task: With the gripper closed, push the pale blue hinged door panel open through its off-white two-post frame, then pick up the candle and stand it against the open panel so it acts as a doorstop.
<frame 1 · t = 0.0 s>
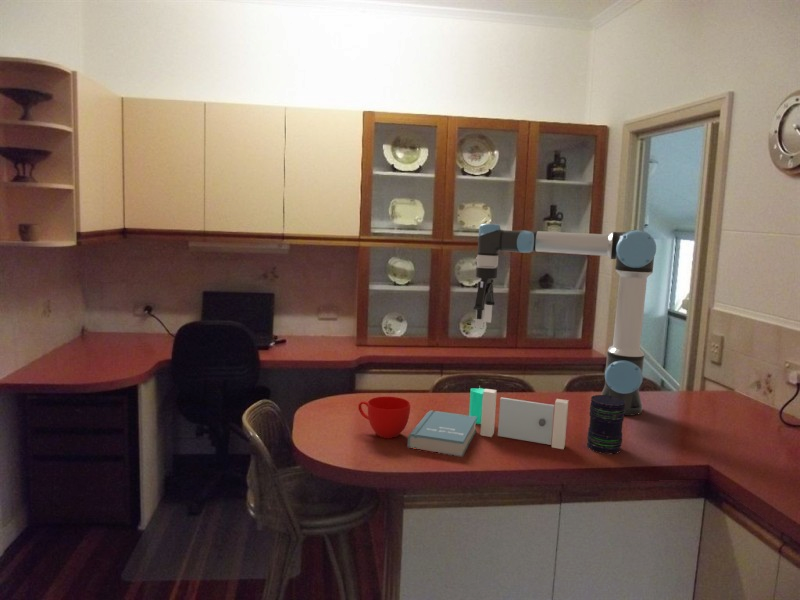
hand: (483, 325, 219), 28 cm above the breakfast bar, tool pointing down, fingers open, 13 cm apart
door: (525, 421, 181), point 6 cm above the breakfast bar, hinge at 0.0°
door frame: (523, 440, 183), on the breakfast bar
storage jar: (603, 448, 180), on the breakfast bar
candle: (477, 421, 199), on the breakfast bar
ceramic cup: (382, 433, 184), on the breakfast bar
book: (443, 441, 182), on the breakfast bar
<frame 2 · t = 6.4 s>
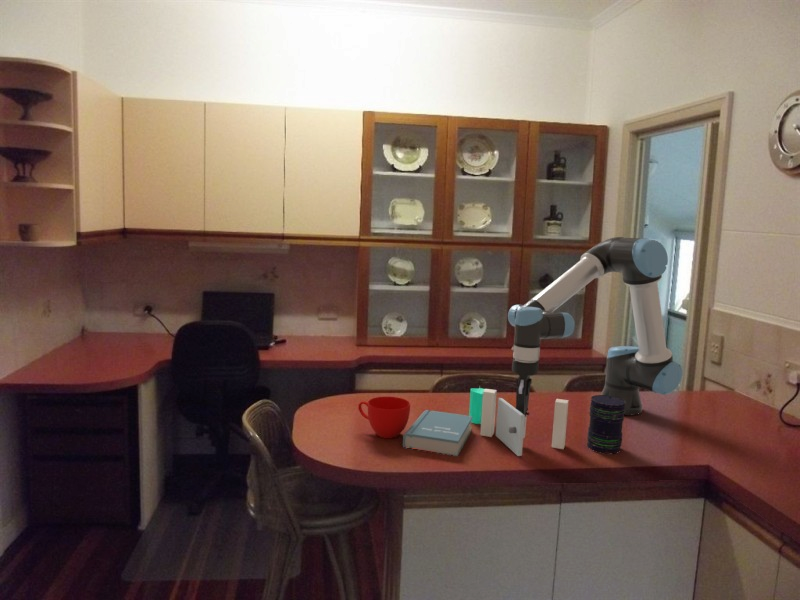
hand: (520, 436, 179), 2 cm above the breakfast bar, tool pointing down, fingers closed
door: (506, 426, 177), point 6 cm above the breakfast bar, hinge at 55.3°, touching hand
book: (438, 440, 182), on the breakfast bar
everything else where it was.
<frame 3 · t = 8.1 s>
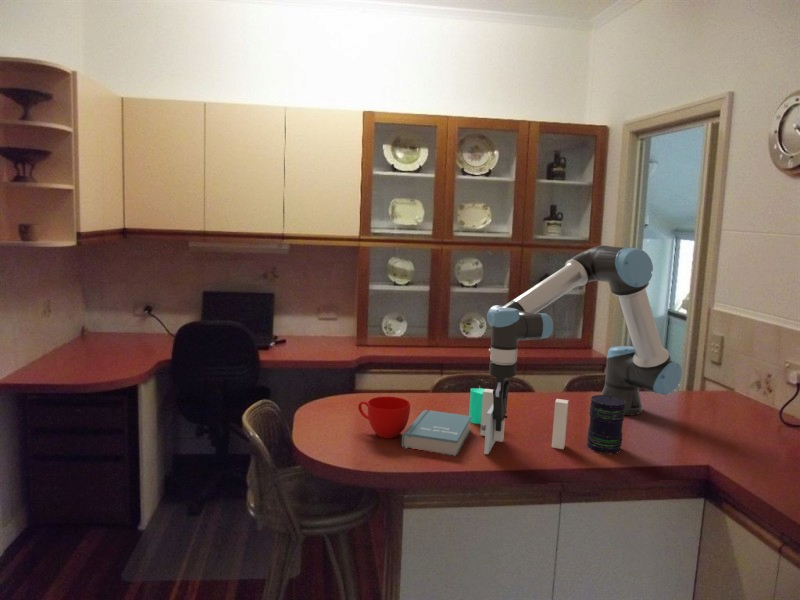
hand: (498, 440, 176), 2 cm above the breakfast bar, tool pointing down, fingers closed
door: (490, 424, 177), point 6 cm above the breakfast bar, hinge at 89.0°, touching gripper
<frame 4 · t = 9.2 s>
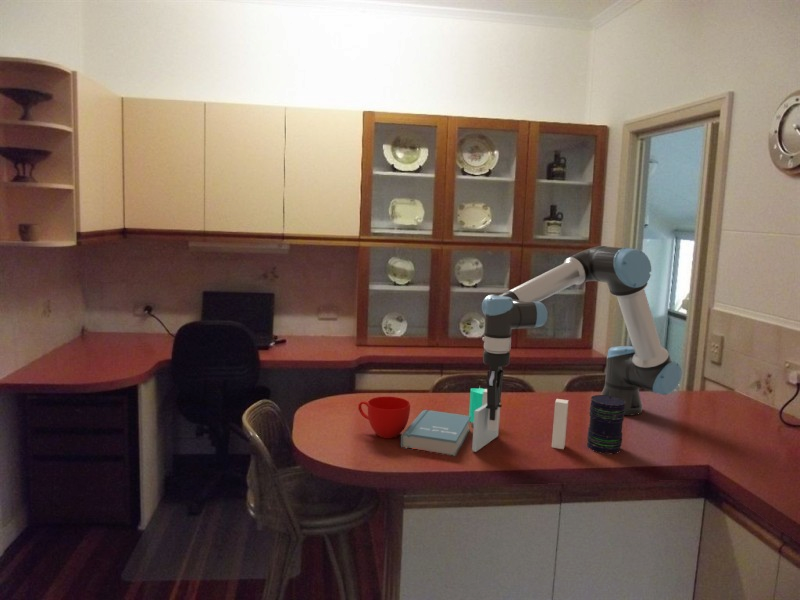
hand: (492, 429, 175), 6 cm above the breakfast bar, tool pointing down, fingers closed
door: (484, 423, 178), point 6 cm above the breakfast bar, hinge at 101.8°
everything else where it was.
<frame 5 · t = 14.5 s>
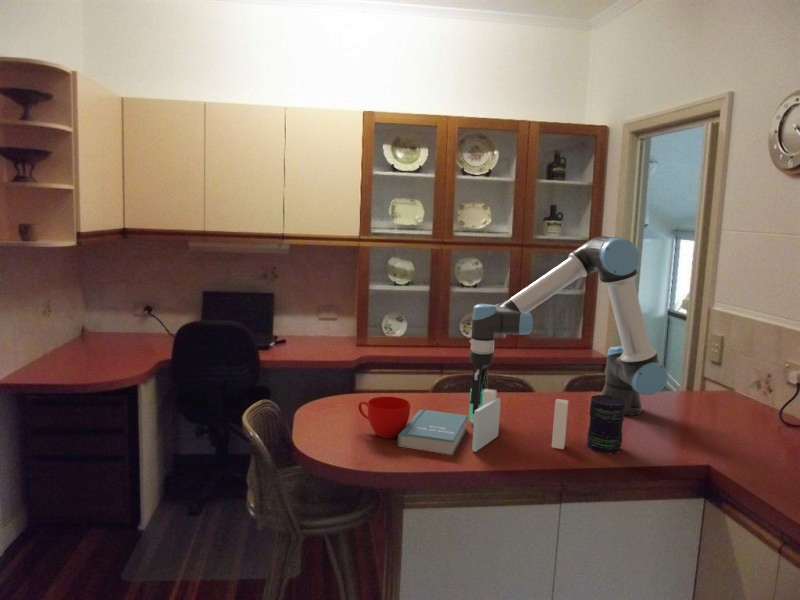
hand: (477, 419, 199), 0 cm above the breakfast bar, tool pointing down, fingers closed on candle, 6 cm apart
candle: (477, 421, 199), on the breakfast bar, touching gripper
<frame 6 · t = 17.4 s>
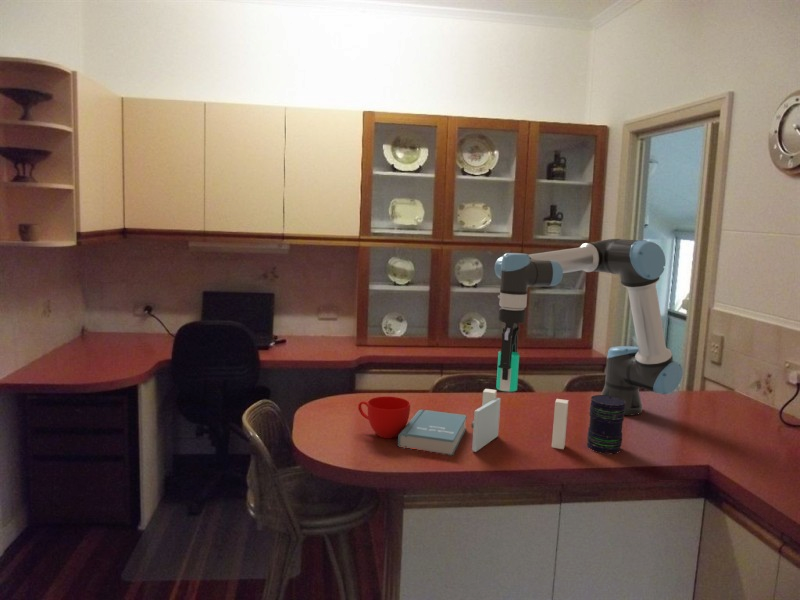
hand: (506, 387, 173), 19 cm above the breakfast bar, tool pointing down, fingers closed on candle, 6 cm apart
candle: (506, 389, 173), point 18 cm above the breakfast bar, touching gripper
ceramic cup: (381, 433, 184), on the breakfast bar, touching book
book: (433, 439, 182), on the breakfast bar, touching ceramic cup
everything else where it was.
when the fingers open (2 cm above the breakfast bar, at t = 20.8 s): candle drops 1 cm, on the breakfast bar.
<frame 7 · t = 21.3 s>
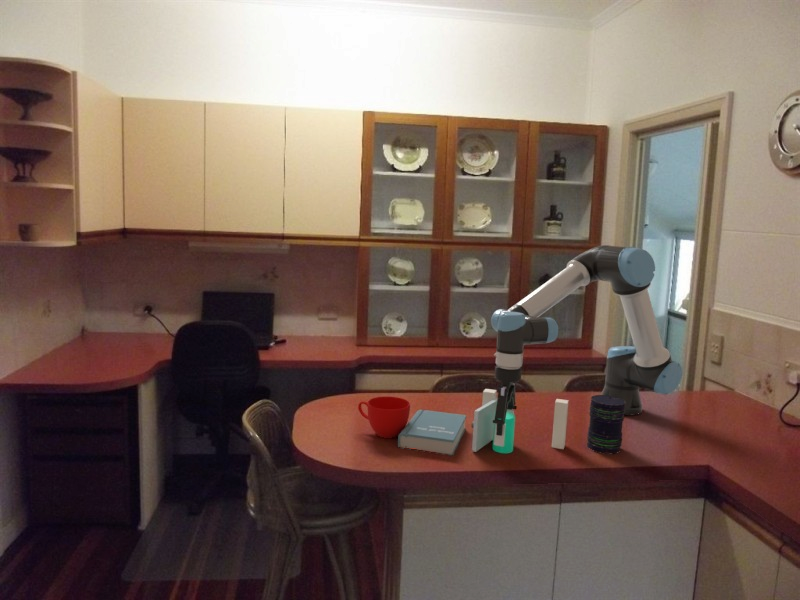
hand: (503, 437, 175), 4 cm above the breakfast bar, tool pointing down, fingers open, 12 cm apart
candle: (502, 450, 175), on the breakfast bar
ceramic cup: (381, 433, 184), on the breakfast bar
book: (433, 439, 182), on the breakfast bar
everything else where it was.
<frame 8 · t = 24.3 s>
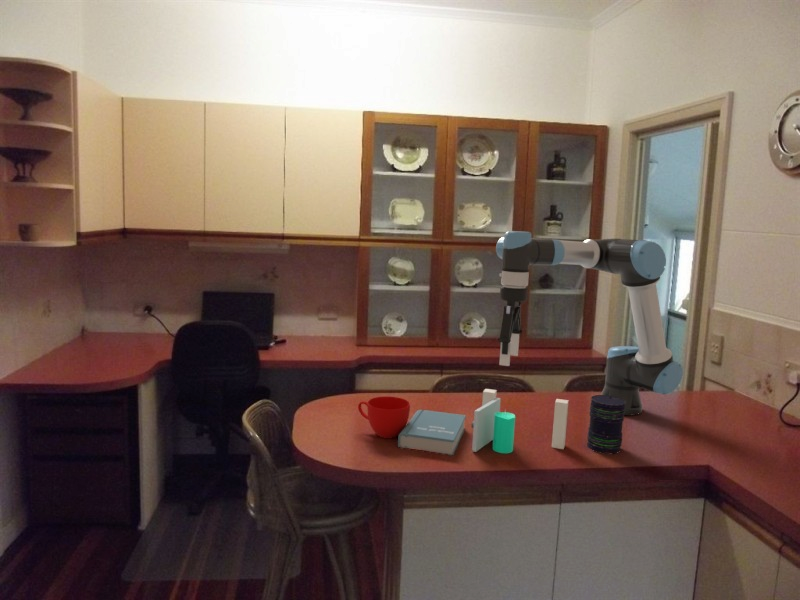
hand: (508, 360, 172), 27 cm above the breakfast bar, tool pointing down, fingers open, 13 cm apart
nothing on the breakfast bar moved.
at the end: door at +102° (first picture: +0°); candle inside the target area (0.0 cm from its centre), on the breakfast bar; candle tilted 0° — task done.
